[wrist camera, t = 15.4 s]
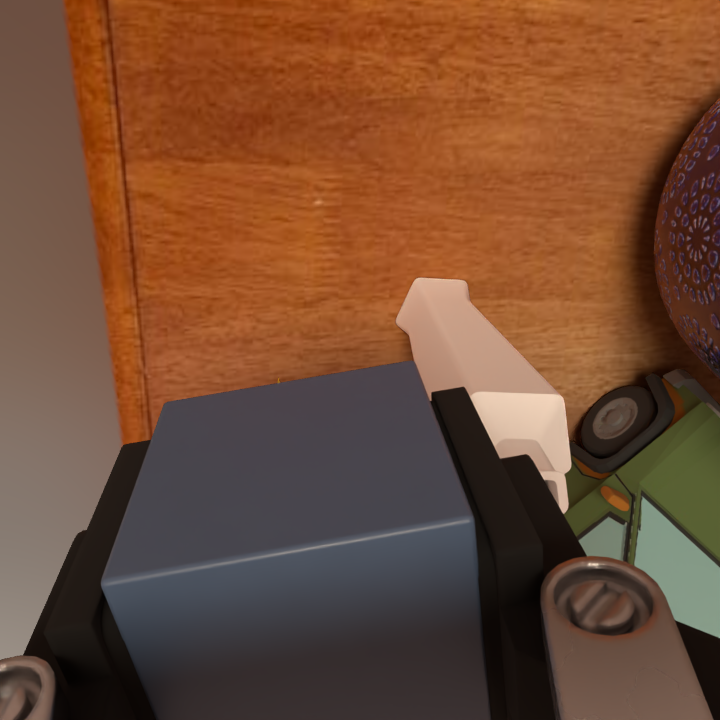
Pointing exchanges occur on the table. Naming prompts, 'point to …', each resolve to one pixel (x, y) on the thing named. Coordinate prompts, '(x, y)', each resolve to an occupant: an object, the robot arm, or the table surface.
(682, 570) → the toy truck
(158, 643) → the block
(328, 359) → the table surface
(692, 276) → the planter
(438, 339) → the perfume bottle
